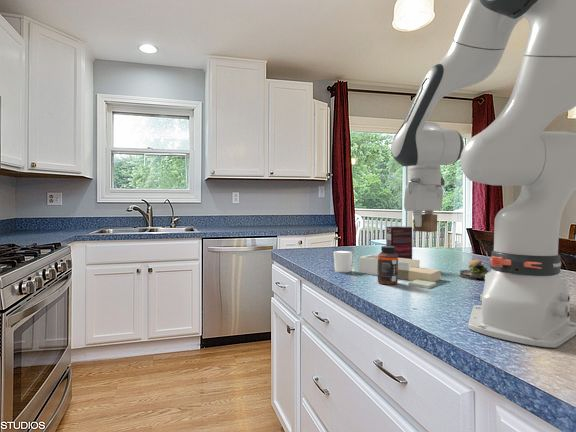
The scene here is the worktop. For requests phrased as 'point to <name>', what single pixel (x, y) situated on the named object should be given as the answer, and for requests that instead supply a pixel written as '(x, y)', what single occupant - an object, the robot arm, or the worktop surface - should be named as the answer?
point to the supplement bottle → (388, 266)
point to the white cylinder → (342, 261)
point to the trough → (400, 269)
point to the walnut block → (427, 223)
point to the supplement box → (400, 240)
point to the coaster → (422, 283)
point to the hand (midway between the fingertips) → (423, 226)
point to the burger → (474, 271)
